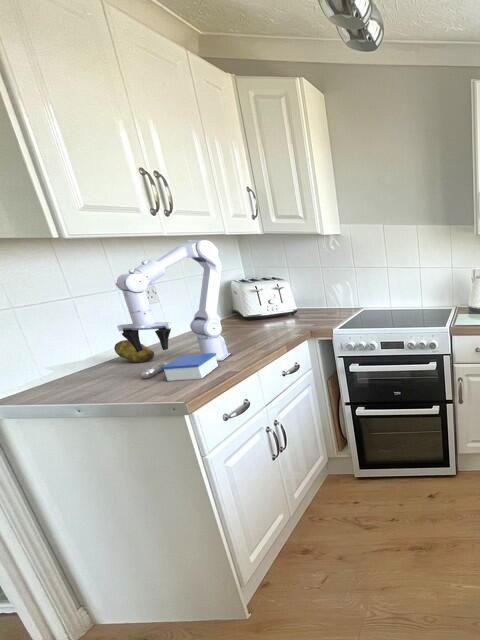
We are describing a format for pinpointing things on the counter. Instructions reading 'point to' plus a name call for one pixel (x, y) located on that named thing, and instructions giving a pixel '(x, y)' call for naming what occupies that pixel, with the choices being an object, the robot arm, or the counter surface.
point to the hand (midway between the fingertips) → (152, 350)
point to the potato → (133, 352)
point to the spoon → (153, 370)
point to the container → (190, 366)
